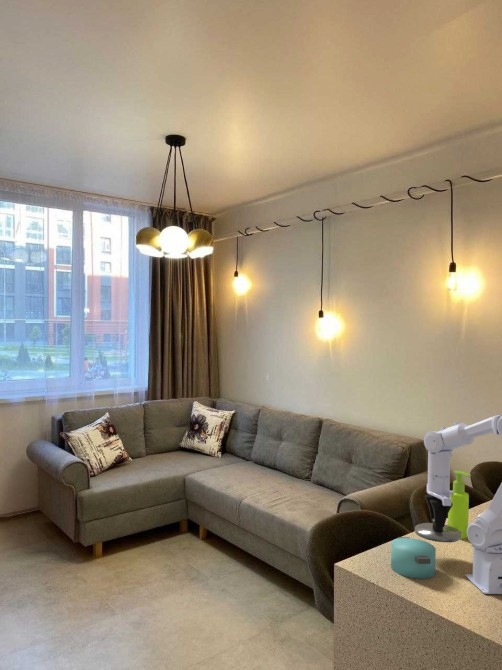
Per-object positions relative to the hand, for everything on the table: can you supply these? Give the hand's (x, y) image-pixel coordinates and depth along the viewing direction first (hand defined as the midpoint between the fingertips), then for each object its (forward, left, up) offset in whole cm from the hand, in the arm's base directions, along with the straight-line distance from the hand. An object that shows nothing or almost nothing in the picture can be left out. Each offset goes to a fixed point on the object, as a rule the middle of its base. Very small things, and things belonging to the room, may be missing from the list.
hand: (437, 524), depth 138 cm
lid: (0, 0, -3) cm, 3 cm away
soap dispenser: (+17, -15, -10) cm, 25 cm away
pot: (-7, +9, -9) cm, 15 cm away
